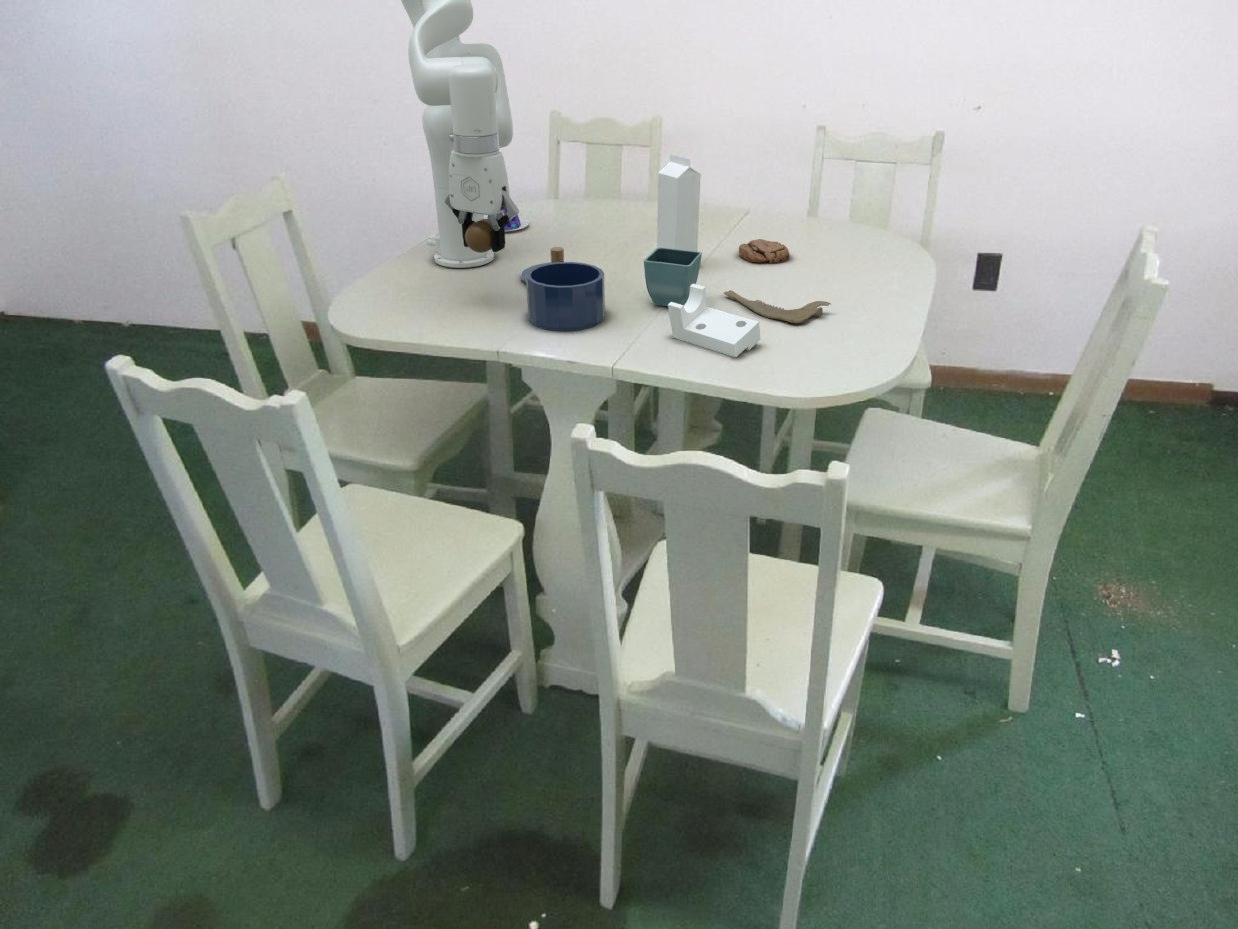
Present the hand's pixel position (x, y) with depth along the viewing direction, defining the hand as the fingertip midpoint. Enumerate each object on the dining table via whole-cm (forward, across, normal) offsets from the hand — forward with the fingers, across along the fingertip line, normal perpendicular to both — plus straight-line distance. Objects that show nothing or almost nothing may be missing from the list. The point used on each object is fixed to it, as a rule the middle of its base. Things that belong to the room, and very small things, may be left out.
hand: (484, 246), depth 164 cm
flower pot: (+11, +31, +15) cm, 36 cm away
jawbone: (+11, +49, +22) cm, 55 cm away
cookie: (+11, +37, +49) cm, 63 cm away
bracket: (+10, +45, +1) cm, 46 cm away
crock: (+11, +17, 0) cm, 20 cm away
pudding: (+12, -25, +43) cm, 52 cm away
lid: (+10, +5, +17) cm, 21 cm away
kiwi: (+1, 0, 0) cm, 1 cm away
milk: (+11, +23, +35) cm, 43 cm away
